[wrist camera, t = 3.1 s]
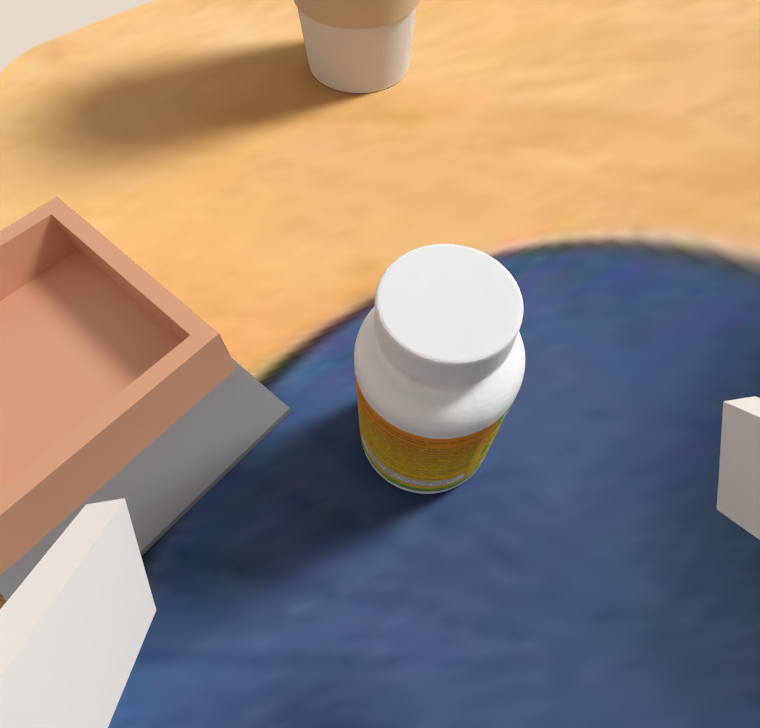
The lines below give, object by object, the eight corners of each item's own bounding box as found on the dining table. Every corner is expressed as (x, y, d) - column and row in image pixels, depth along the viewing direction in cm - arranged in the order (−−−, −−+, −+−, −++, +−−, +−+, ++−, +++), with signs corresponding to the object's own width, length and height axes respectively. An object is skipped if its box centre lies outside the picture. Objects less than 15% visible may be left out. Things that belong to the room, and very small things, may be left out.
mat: (290, 411, 23) (289, 408, 23) (46, 647, 18) (40, 648, 18) (80, 231, 28) (77, 225, 28) (-150, 382, 24) (-158, 378, 23)
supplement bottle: (491, 499, 21) (565, 393, 13) (357, 494, 21) (341, 386, 13) (483, 379, 24) (540, 225, 15) (364, 376, 24) (354, 220, 15)
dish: (236, 368, 23) (218, 333, 21) (-3, 578, 19) (-62, 566, 17) (86, 239, 27) (56, 196, 25) (-142, 391, 23) (-207, 358, 20)
